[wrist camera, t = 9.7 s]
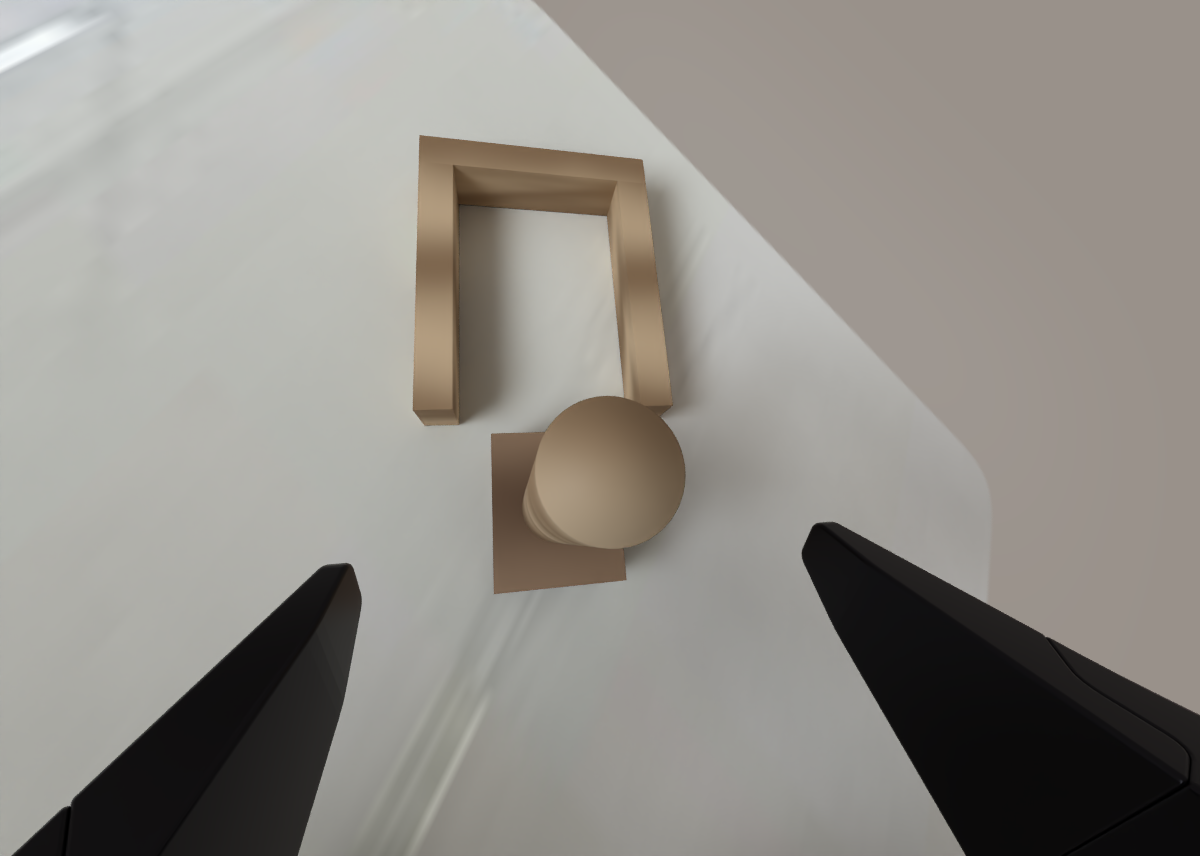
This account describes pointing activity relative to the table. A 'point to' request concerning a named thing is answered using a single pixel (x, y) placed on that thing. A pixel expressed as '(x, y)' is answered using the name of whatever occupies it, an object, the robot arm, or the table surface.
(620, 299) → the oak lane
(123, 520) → the table surface
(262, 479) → the table surface
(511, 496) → the dowel block
